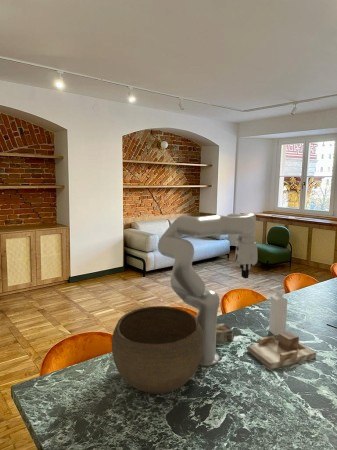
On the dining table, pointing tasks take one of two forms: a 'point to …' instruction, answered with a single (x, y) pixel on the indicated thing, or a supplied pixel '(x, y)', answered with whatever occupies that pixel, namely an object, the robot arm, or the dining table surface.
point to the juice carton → (223, 333)
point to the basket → (157, 348)
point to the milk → (278, 314)
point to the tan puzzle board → (279, 353)
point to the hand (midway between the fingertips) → (244, 277)
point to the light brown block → (288, 341)
